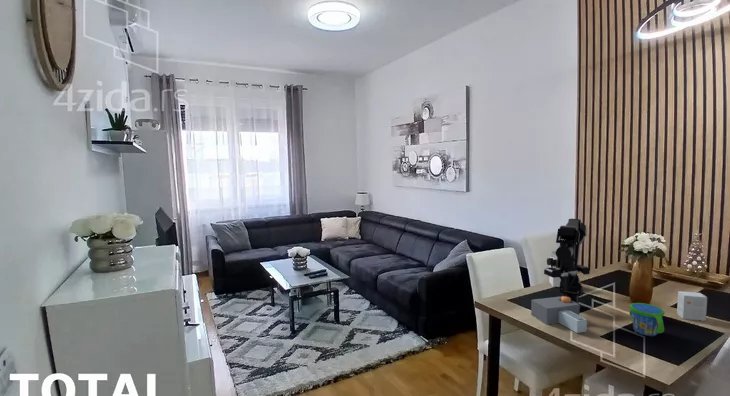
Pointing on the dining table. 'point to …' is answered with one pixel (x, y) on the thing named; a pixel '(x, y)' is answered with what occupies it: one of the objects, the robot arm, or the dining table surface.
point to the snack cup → (647, 319)
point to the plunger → (565, 299)
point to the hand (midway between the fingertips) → (566, 290)
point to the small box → (692, 306)
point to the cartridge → (572, 321)
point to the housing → (551, 309)
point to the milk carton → (556, 281)
